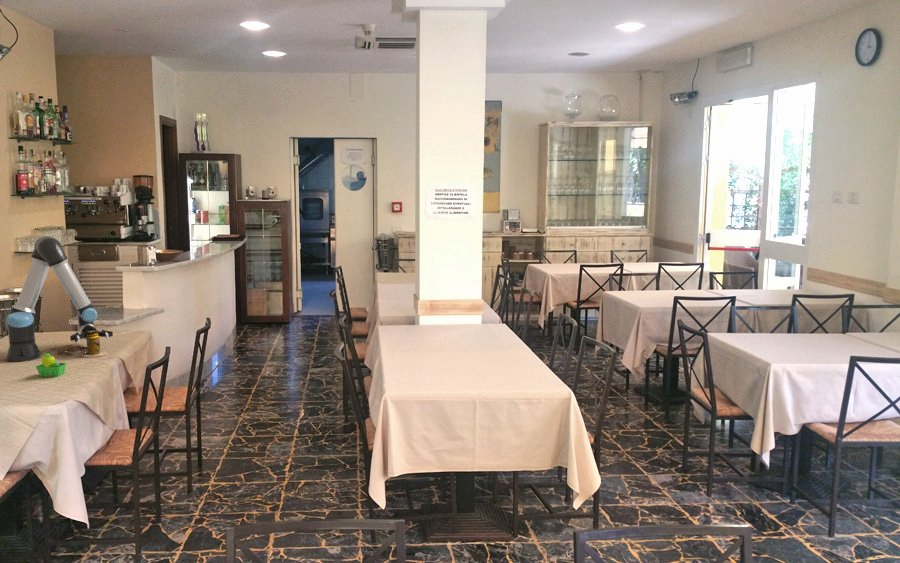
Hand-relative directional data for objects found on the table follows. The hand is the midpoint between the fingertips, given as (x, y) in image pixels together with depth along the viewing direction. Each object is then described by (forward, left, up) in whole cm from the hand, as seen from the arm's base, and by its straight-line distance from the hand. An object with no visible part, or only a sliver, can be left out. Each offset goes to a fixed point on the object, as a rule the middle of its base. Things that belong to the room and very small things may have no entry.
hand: (93, 338), depth 388 cm
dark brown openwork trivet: (+2, +18, -9) cm, 20 cm away
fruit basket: (-34, -15, -10) cm, 39 cm away
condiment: (+1, +3, -9) cm, 9 cm away
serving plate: (+2, +3, -9) cm, 10 cm away
